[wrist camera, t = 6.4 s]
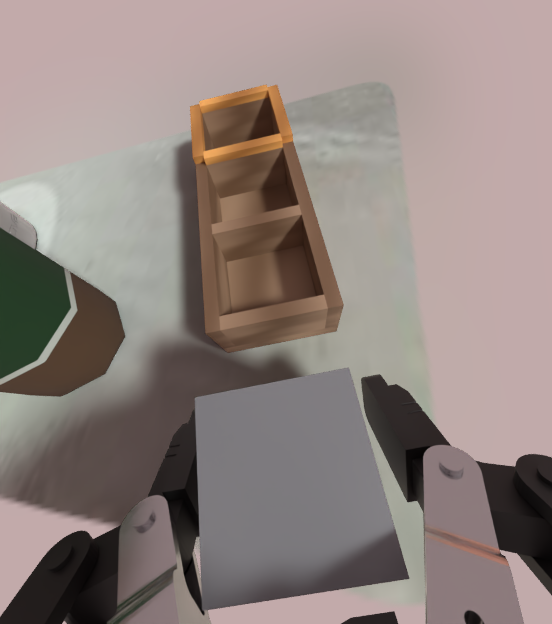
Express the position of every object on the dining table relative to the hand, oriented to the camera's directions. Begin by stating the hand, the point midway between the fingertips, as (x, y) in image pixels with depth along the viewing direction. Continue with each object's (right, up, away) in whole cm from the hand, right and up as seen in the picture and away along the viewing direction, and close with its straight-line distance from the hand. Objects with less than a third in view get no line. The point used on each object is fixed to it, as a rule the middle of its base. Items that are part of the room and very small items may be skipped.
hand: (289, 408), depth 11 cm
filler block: (+1, -3, +3) cm, 5 cm away
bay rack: (-2, +11, +10) cm, 15 cm away
